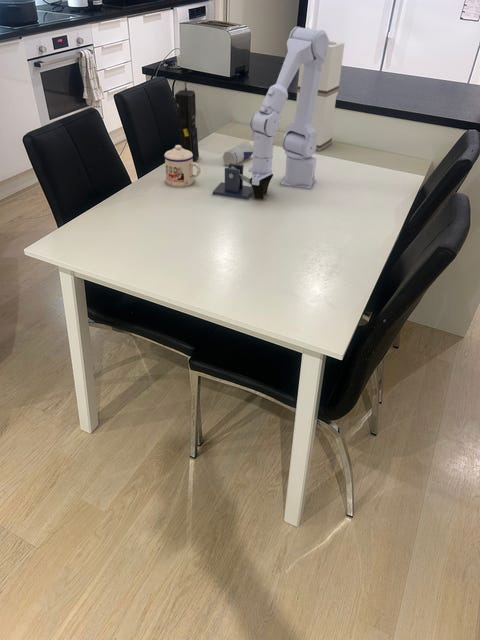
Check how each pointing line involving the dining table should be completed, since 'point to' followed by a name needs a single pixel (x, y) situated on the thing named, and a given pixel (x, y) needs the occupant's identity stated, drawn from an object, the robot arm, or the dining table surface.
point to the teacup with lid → (180, 167)
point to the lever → (242, 176)
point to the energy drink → (238, 154)
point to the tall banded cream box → (326, 94)
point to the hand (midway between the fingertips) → (260, 199)
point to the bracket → (233, 184)
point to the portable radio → (187, 121)
